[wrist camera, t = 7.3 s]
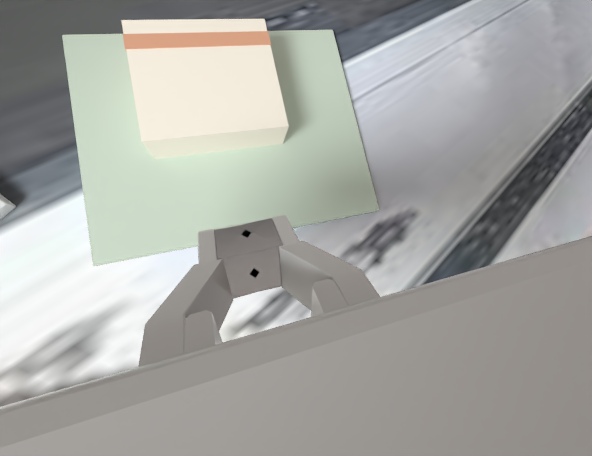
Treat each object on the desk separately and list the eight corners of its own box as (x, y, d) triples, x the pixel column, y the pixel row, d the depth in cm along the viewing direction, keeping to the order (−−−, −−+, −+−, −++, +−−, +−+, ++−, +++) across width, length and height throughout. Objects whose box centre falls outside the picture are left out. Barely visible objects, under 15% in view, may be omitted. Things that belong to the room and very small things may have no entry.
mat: (96, 265, 17) (93, 265, 16) (65, 39, 19) (62, 34, 18) (377, 211, 21) (379, 210, 21) (331, 33, 23) (332, 29, 23)
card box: (140, 141, 16) (120, 19, 16) (154, 159, 18) (136, 53, 19) (289, 125, 18) (265, 18, 18) (283, 144, 20) (262, 49, 21)
